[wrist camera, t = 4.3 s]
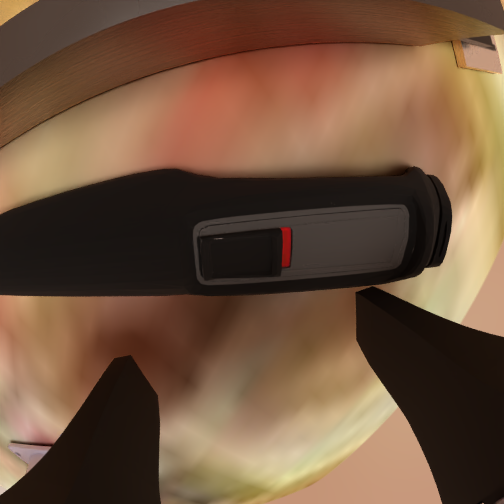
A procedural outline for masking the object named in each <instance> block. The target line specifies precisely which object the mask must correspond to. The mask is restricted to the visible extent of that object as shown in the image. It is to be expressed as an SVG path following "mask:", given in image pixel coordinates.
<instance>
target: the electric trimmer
mask: <svg viewBox="0 0 504 504" xmlns="http://www.w3.org/2000/svg"><path fill="white" fill-rule="evenodd" d="M400 208H401V209H400ZM451 225H452V209H451V202H450V200H449V197H448V195H447V193H446V190H445V188H444V186H443V184H442V183H441V181H440V180H439V179H438V178H437V177H435V176H434V175H426V174H425V173H424V172H423V171H422V170H421V169H420V168H418V167H415V166H413V167H410V168H408V169H407V170H406V172H405V174H404V175H401V176H367V177H326V178H281V179H276V178H216V177H209V176H203V175H197V174H193V173H189V172H186V171H182V170H179V169H162V170H155V171H149V172H143V173H137V174H132V175H128V176H124V177H119V178H115V179H111V180H107V181H103V182H100V183H96V184H92V185H88V186H85V187H81V188H78V189H74V190H71V191H67V192H64V193H61V194H57V195H54V196H51V197H48V198H45V199H42V200H39V201H36V202H33V203H30V204H27V205H24V206H21V207H18V208H15V209H13V210H10V211H7V212H5V213H3V214H1V215H0V295H14V296H168V295H185V294H189V295H203V296H237V295H260V294H275V293H290V292H303V291H315V290H327V289H338V288H349V287H360V286H369V285H379V284H386V283H390V282H395V281H399V280H404V279H408V278H412V277H416V276H418V275H419V274H421V273H422V271H423V270H424V268H430V267H437V266H440V265H441V264H442V262H443V260H444V257H445V255H446V251H447V247H448V243H449V238H450V234H451Z"/></svg>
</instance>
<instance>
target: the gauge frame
mask: <svg viewBox="0 0 504 504" xmlns="http://www.w3.org/2000/svg"><path fill="white" fill-rule="evenodd" d="M490 36H491V40H492V44H493V46H492V47H482V46H479V45H475V44H472V43H468V42H464V41H460V40H452V43H453V47H454V51H455V55H456V60H457V64H458V67H462V68H468V69H474V70H480V71H485V72H490V73H498V74H502V69H501V64H500V60H499V55H498V51H497V47H496V43H495V39H494V35H490Z"/></svg>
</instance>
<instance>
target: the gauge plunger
mask: <svg viewBox="0 0 504 504" xmlns="http://www.w3.org/2000/svg"><path fill="white" fill-rule="evenodd" d="M501 34H504V10H503V7H502V4H501V1H500V0H39V1H38V2H36V3H34V4H33V5H31V6H29V7H28V8H26V9H25V10H23V11H22V12H20V13H19V14H17V15H16V16H14V17H13V18H11V19H10V20H8V21H7V22H5V23H4V24H3V25H1V26H0V148H1V147H2V146H4V145H5V144H7V143H8V142H10V141H11V140H13V139H14V138H16V137H17V136H19V135H21V134H22V133H24V132H26V131H27V130H29V129H31V128H32V127H34V126H36V125H38V124H39V123H41V122H43V121H45V120H46V119H48V118H50V117H52V116H54V115H56V114H58V113H60V112H62V111H64V110H66V109H68V108H70V107H72V106H74V105H76V104H78V103H80V102H82V101H84V100H86V99H89V98H91V97H93V96H95V95H98V94H100V93H102V92H105V91H107V90H110V89H112V88H115V87H117V86H120V85H122V84H125V83H128V82H130V81H133V80H136V79H139V78H142V77H145V76H147V75H150V74H154V73H157V72H160V71H163V70H166V69H170V68H173V67H177V66H180V65H184V64H188V63H191V62H195V61H199V60H204V59H208V58H212V57H217V56H221V55H226V54H231V53H237V52H242V51H248V50H254V49H261V48H268V47H276V46H285V45H295V44H308V43H326V42H376V43H393V44H405V45H415V46H424V45H429V44H434V43H439V42H445V41H451V40H460V41H464V42H468V43H472V44H475V45H479V46H482V47H492V46H493V44H492V40H491V36H490V35H501Z"/></svg>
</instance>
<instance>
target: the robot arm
mask: <svg viewBox="0 0 504 504" xmlns="http://www.w3.org/2000/svg"><path fill="white" fill-rule="evenodd" d="M356 340H357V342H358V344H359V346H360V348H361V350H362V352H363V354H364V355H365V357H366V359H367V361H368V363H369V365H370V366H371V368H372V369H373V370H374V372H375V373H376V375H377V376H378V378H379V379H380V381H381V382H382V383H383V385H384V386H385V388H386V389H387V391H388V392H389V393H390V395H391V396H392V398H393V399H394V401H395V402H396V403H397V405H398V406H399V408H400V409H401V411H402V412H403V414H404V415H405V417H406V419H407V420H408V422H409V424H410V426H411V428H412V430H413V432H414V434H415V436H416V437H417V440H418V442H419V444H420V446H421V448H422V451H423V453H424V455H425V457H426V460H427V462H428V464H429V466H430V469H431V472H432V474H433V477H434V480H435V482H436V485H437V488H438V491H439V494H440V498H441V501H442V504H482V503H484V504H504V337H501V336H497V335H493V334H489V333H486V332H482V331H478V330H475V329H472V328H469V327H466V326H463V325H460V324H458V323H455V322H453V321H450V320H447V319H445V318H442V317H440V316H438V315H435V314H433V313H430V312H428V311H426V310H424V309H421V308H419V307H417V306H415V305H413V304H411V303H408V302H406V301H404V300H402V299H400V298H398V297H396V296H394V295H391V294H389V293H387V292H385V291H383V290H380V289H378V288H376V287H373V286H371V287H369V288H366V289H363V290H360V291H358V292H356ZM159 438H160V417H159V405H158V395H157V394H156V392H155V391H154V389H153V388H152V387H151V385H150V384H149V382H148V381H147V379H146V378H145V376H144V375H143V373H142V372H141V370H140V369H139V367H138V366H137V364H136V363H135V361H134V359H133V358H132V356H131V355H129V356H124V357H119V358H114V360H113V361H112V362H111V364H110V365H109V366H108V368H107V369H106V371H105V372H104V373H103V375H102V376H101V378H100V379H99V381H98V382H97V384H96V385H95V387H94V388H93V390H92V391H91V393H90V394H89V396H88V397H87V399H86V400H85V402H84V403H83V405H82V406H81V408H80V409H79V411H78V412H77V414H76V415H75V416H74V418H73V419H72V421H71V422H70V423H69V425H68V426H67V428H66V429H65V430H64V432H63V433H62V434H61V436H60V437H59V438H58V440H57V441H56V442H55V443H54V445H53V446H52V447H49V446H36V445H25V444H17V443H9V445H8V448H9V449H10V450H11V451H12V452H13V453H14V454H16V455H17V456H18V457H19V458H21V459H22V460H23V461H24V462H26V463H27V464H28V468H27V472H26V475H25V476H23V477H22V478H21V479H20V480H19V481H18V482H17V483H15V484H14V485H13V486H12V487H11V488H9V489H8V490H7V491H5V492H4V493H3V494H1V495H0V504H161V501H160V493H159Z"/></svg>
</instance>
